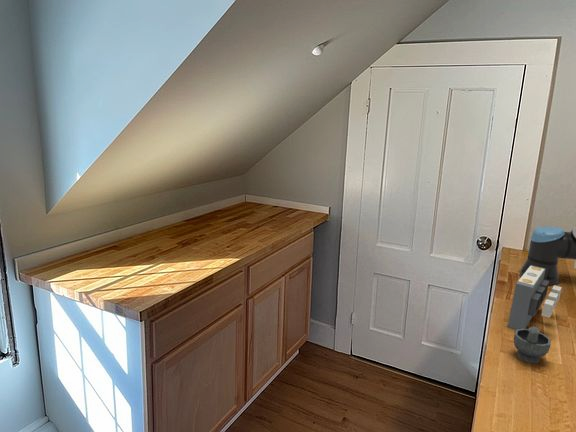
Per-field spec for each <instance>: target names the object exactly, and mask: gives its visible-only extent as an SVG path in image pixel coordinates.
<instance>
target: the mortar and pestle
mask: <svg viewBox="0 0 576 432" xmlns="http://www.w3.org/2000/svg"><path fill="white" fill-rule="evenodd" d="M514 330H515V332H514V333H513V334H514V335H513V345H514V348H515V349H516V350H517V353H516V357H518V358H519V359H520V360H521V361H524V362H526V363H530V364H538V363H539V364H540V362H541V361H540V360H541V357H545V356H546V355H547V354H548V353H549V351H550V348H551V346H552V345H551V343H552V340H551V338H549V337H548V336H547V335H546V334H544V333H542V332H541V331H540V329H539V328H538V327H537V326H530V327H529V328H526V329H518V330H516V329H514Z"/></svg>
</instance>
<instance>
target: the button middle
mask: <svg viewBox="0 0 576 432" xmlns="http://www.w3.org/2000/svg"><path fill="white" fill-rule="evenodd" d="M557 298H558V294H557V293H553V292H552V291H550V292H549V293H548V296H547V299H548V300H552V301H555V302H554V307H553V310H555V308H556V306H557V303H558V302H557Z"/></svg>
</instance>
